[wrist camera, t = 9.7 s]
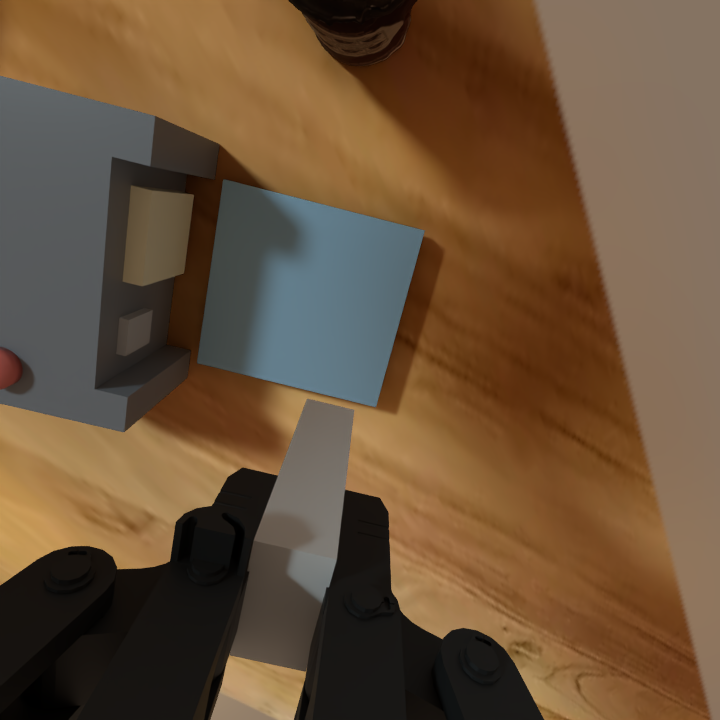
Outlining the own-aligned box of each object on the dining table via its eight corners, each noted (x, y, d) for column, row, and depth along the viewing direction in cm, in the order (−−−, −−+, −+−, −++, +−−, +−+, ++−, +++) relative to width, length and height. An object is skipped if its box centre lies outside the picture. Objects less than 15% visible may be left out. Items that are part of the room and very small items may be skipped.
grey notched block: (64, 103, 32) (-82, 53, 22) (219, 144, 33) (147, 112, 23) (52, 360, 38) (-67, 414, 28) (185, 392, 39) (115, 457, 28)
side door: (220, 178, 32) (424, 230, 32) (229, 180, 34) (422, 229, 34) (194, 362, 36) (375, 407, 36) (203, 354, 38) (376, 397, 38)
